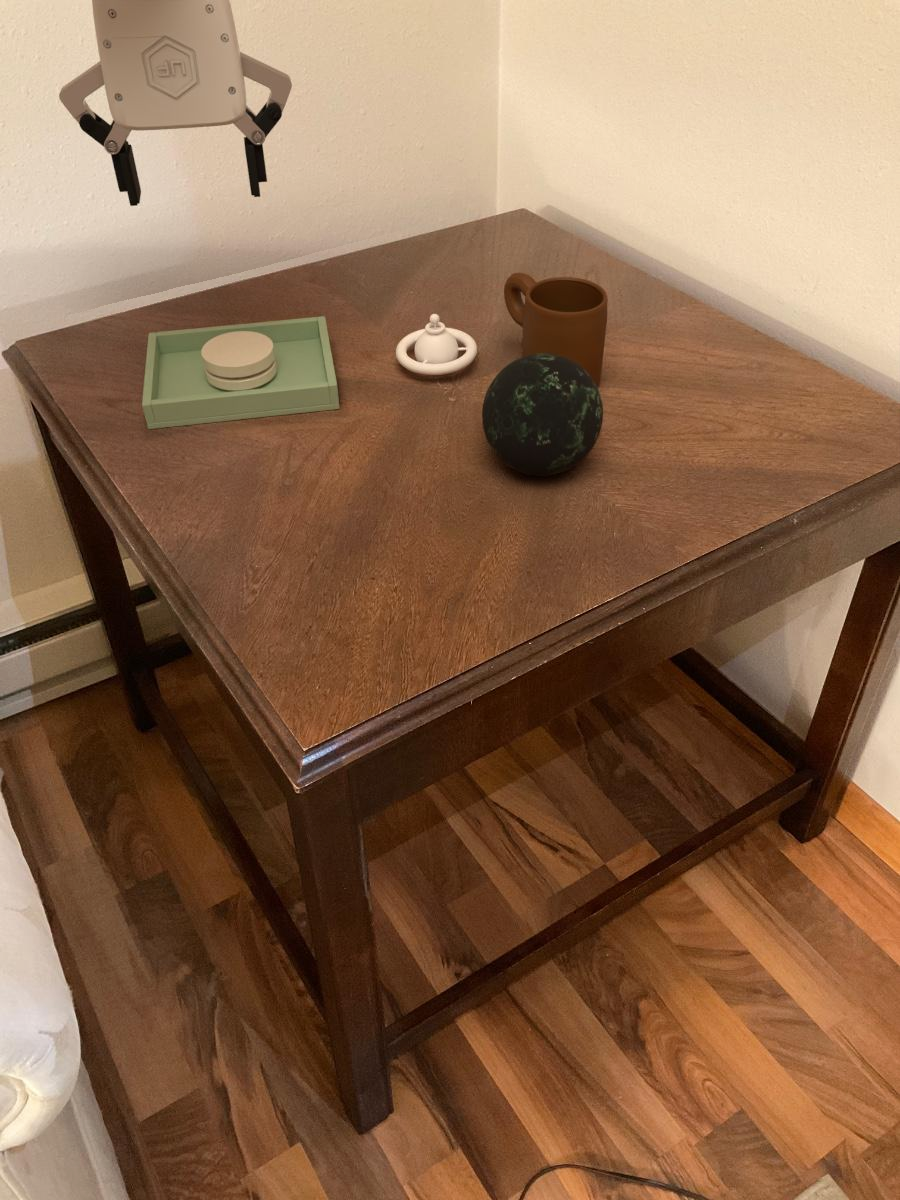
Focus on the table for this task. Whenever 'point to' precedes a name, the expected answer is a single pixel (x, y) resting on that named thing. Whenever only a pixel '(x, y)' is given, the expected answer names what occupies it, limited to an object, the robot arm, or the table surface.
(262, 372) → the beige round container
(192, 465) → the table surface
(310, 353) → the tray
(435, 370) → the ring around a ball
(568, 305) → the mug
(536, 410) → the decorative stone
